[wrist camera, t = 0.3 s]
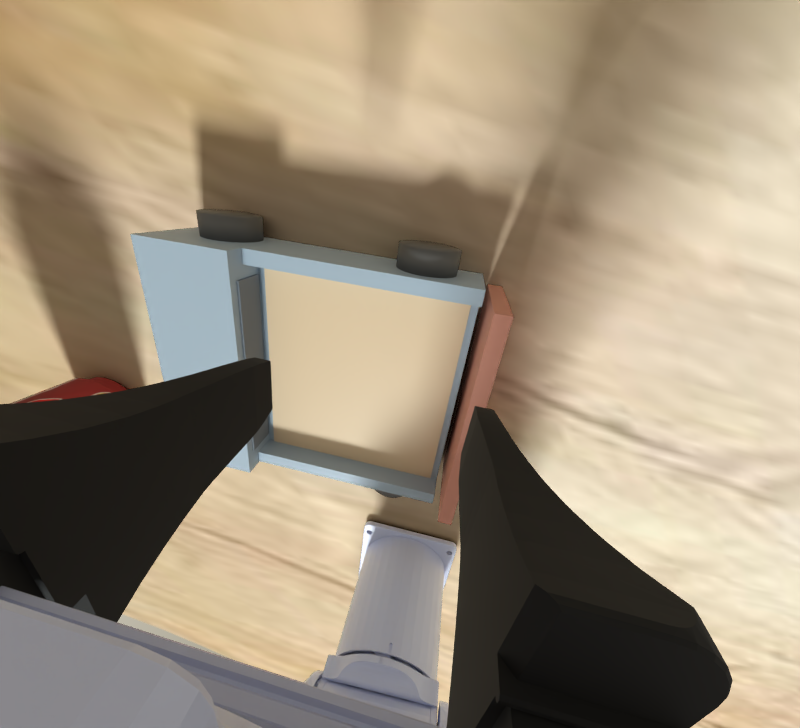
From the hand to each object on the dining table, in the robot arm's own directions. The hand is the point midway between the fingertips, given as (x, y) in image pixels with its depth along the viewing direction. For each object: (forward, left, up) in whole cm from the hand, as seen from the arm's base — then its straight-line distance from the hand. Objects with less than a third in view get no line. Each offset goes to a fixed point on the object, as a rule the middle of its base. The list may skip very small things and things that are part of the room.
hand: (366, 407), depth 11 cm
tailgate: (-4, -5, -10) cm, 12 cm away
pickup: (-4, +5, -10) cm, 12 cm away
